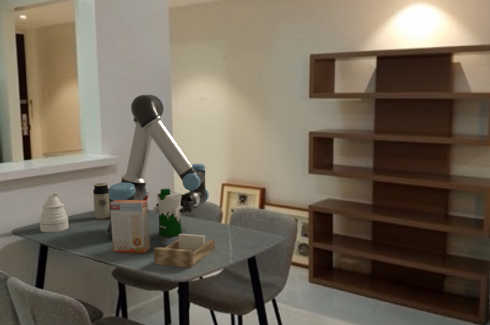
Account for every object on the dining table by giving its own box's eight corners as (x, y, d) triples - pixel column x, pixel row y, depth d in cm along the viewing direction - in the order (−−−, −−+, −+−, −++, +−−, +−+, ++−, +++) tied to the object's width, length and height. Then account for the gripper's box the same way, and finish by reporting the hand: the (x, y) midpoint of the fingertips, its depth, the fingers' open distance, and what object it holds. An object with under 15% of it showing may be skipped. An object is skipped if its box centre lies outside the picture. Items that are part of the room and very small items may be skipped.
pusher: (179, 250, 201) (178, 234, 200) (180, 249, 202) (180, 233, 201) (204, 253, 197) (203, 236, 196) (205, 251, 198) (204, 235, 197)
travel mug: (96, 216, 265) (94, 183, 263) (111, 215, 266) (109, 182, 264) (93, 219, 258) (91, 185, 255) (109, 218, 258) (107, 184, 256)
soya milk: (155, 235, 211) (154, 188, 208) (172, 230, 217) (171, 185, 215) (168, 239, 205) (167, 191, 202) (185, 234, 211) (184, 188, 209)
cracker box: (150, 249, 205) (148, 199, 202) (144, 253, 199) (141, 202, 196) (119, 247, 208) (116, 198, 205) (112, 252, 202) (109, 202, 199)
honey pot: (73, 225, 248) (70, 189, 245) (61, 232, 235) (58, 194, 233) (48, 225, 249) (45, 189, 247) (35, 232, 236) (32, 195, 234)
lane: (154, 264, 186) (153, 248, 185) (182, 246, 208) (181, 232, 207) (190, 267, 181) (189, 251, 180) (215, 249, 202) (214, 234, 202)
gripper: (210, 210, 223) (188, 222, 202) (167, 207, 231) (141, 218, 210) (210, 194, 222) (188, 204, 201) (167, 191, 230) (141, 201, 209)
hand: (164, 211), depth 205 cm, fingers closed on soya milk, 9 cm apart
